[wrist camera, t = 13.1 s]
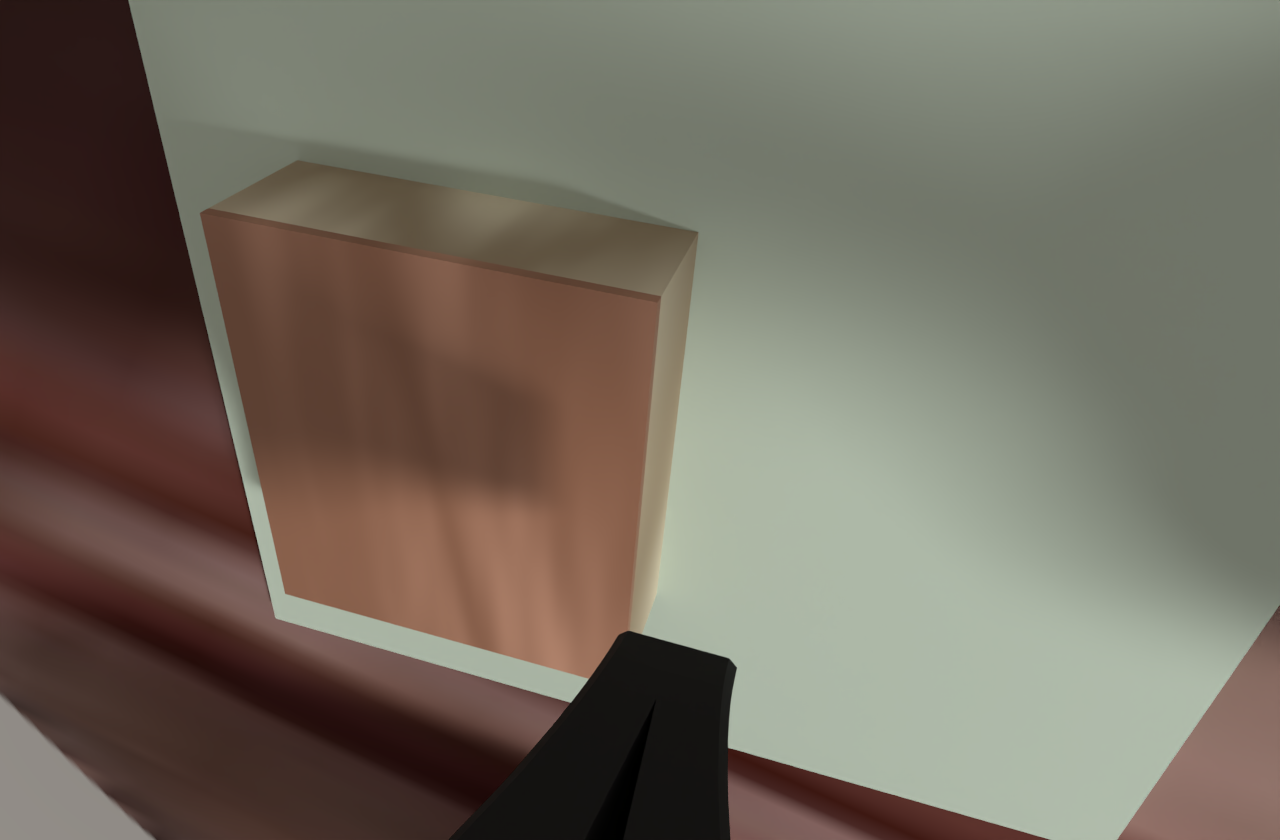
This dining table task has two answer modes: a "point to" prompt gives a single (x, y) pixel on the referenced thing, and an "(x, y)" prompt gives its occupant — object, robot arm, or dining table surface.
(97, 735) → the dining table surface
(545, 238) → the tile
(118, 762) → the dining table surface
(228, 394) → the mat
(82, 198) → the dining table surface
